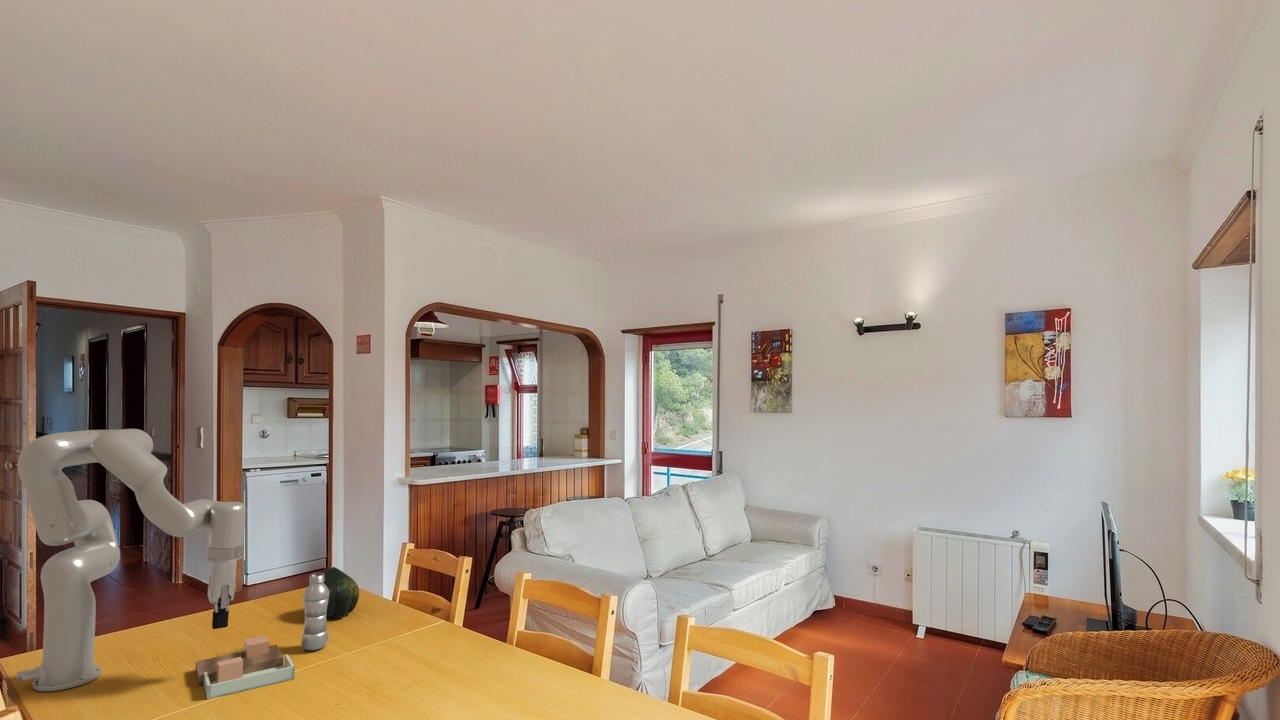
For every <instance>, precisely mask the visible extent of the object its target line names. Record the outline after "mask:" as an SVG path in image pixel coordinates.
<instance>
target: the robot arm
mask: <svg viewBox="0 0 1280 720" xmlns="http://www.w3.org/2000/svg"><path fill="white" fill-rule="evenodd" d="M153 449H154V441H153V439H152V437H151V436H150V435H149V434H148V433H147V432H146V431H144V430H142V429H139V428H138V429H137V428H124V429H86V430H76V431H75V430H74V431H62V432H56V433H49V434H46V435H43V436H40V437H38V438H36V439H34V440H32V441H30V442H29V443H28V444H27V445H25V447H24V448H23V449H22V451H21V452H20V455H19V456H18V460H17V472H18V476H19V479H20V481H21V483H22V486H23V488H24V490H25V494H26V496H27V499H28V504H29V509H30V512H31V515H32V519H33V522H34V526H35V529H36V533H37V536H38V538H39V541H41V542H42V543H43V544H44V545H47V546H51V547H52V546H53V547H55V546H62V545H63V546H64V545H66V544H70V543H74V546H73V547H70V548H68V549H67V548H66V549H64V550H62V551H60V552H57V553H55V554H54V555H52V556H51V557H49V559H47V560H46V561H45V563H44V564H43V566H42V567H41V570H40V582H41V588H42V591H43V601H44V606H43V608H44V610H43V620H44V621H43V638H42V639H43V640H42V643H43V644H42V662H41V664H40V666H36V667H34V669H26V670H20V671H17V672H16V676H15V677H16V678H15V679H16V680H15V681H21V682H29V681H32V680H33V682H32V689H33V690H35V691H38V692H55V691H63V690H67V689H72V688H76V687H78V686H82V685H85V684H88V683H90V682H93V681H94V680H95V679H97V678H98V677H99V676H101V674H102V667H101V666H100V665H98V664H94V661H95V635H96V634H95V633H96V617H97V616H96V615H97V613H96V607H97V605H96V604H97V603H96V602H97V601H96V596H95V593H94V590H93V588H92V586H91V582H93V581H96V580H98V579H101V578H103V577H106V576H107V575H109V574H111V573H112V572H113V571H114V570H115V569H116V568H117V567H118V565H119V563H120V560H121V552H120V546H119V543H118V538H117V536H116V533H115V532H116V531H115V528H114V525H113V521H112V518H111V515H110V512H109V511H108V509H107V508H106V506H104V504H103V503H101V502H98V501H97V500H93V499H81V500H78V498H77V495H76V492H75V487H74V485H73V482H72V481H71V480H70V478H69V477H68V476H67V475H66V474H65V473H64V472H63V469H64V468H66V467H72V466H73V467H74V466H80V465H83V464H84V465H86V464H92V463H96V464H97V463H98V464H100V465H102V466H103V467H104V468H105V469H106V470H108V471H109V472H110V473H111V474H112V475H114V476H115V477H116V478H117V479H118V480H120V481H121V482H122V483H123V484H124V485H126V486H127V487H128V488H129V489H130V490H132V491H133V492H134V495H135V499H136V501H137V504H138V506H139V509H140V511H141V512H142V513H143V515H144V516H145V517H146V518H147V519H148V521H150V522H151V523H152V524H153V525H155V526H156V527H157V528H159V529H160V530H161V531H163V532H164V533H166V534H168V535H169V536H172V537H177V538H182V537H188V536H190V535H192V534H195V533H197V532H201V531H203V530H207V529H208V538H207V539H208V541H207V553H206V555H207V556H206V561H207V562H210V567H209V577H208V585H207V598H208V602H209V603H210V604H212V605H213V611H212V619H211V621H212V623H211V627H212V629H213V630H218V629H224V628H228V625H229V613H230V610H229V605H230V602H232V601H233V600H234V598H235V591H236V590H235V589H236V581H237V568H238V567H237V563H238V561H239V560H241V559H243V552H244V551H243V550H244V542H245V541H244V539H245V528H246V512H247V508H246V507H247V506H246V505H245V504H244V503H243V502H240V501H218V500H213V499H208V498H207V499H206V498H202V499H196V500H193V501H188V502H187V503H182V502H181V501H180V500H178V499H177V498H176V497H174V496H173V494H171V493H170V492H169V491H168V489H167V488H166V486H165V483H164V478H165V477H166V475H167V474H168V466H167V465H166V464H165V463H163V462H162V461H161V460H159V458H157V457H156V456H155V455H154V454H153V453H152V452H153Z"/></svg>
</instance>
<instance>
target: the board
mask: <svg viewBox="0 0 1280 720" xmlns="http://www.w3.org/2000/svg"><path fill="white" fill-rule="evenodd" d="M237 657H241V658H242V660H243V675H244V674H248V673H252V672H257V671H261V670H266V669H270V668H275V667H279V666H284V656H283V654H282V652H281V650H280V648H279V647H278V645H277V644H274V645H269V653H267V654H263V655H258V656H253V657H248V658H247V657H246V655H245V652H244V651H240V652H239V651H238V652H235V653H229V654H223V655H220V656H215V657H211V658H205V659H199V660H196V661H195V675H196V676H195V677H196V680H197V684H198V687H201V686H204V672H207V673H208V677H209V681H210V682H212V681H216V672H217V662H220V661H224V660H228V659H233V658H237Z"/></svg>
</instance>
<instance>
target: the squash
mask: <svg viewBox="0 0 1280 720" xmlns="http://www.w3.org/2000/svg"><path fill="white" fill-rule="evenodd" d="M323 573H324V579H325V581H324V584H325V585H326V586H327V588H328V589H329V592H330V593H329V600H328V605H327V612H326V614H327V615H326V617H334V618H335V619H341V618H344V617H345V615H346V616H347V615H348V614H351V613H352V612H353V611H354V610H355V608H356V607H357V604H358V601H359V598H360V589H359V586H358V584H357V582H356V581H355V580H354V578H352V577H351V576H349V575H348V574H346V573H345V572H344V571H342V570H341V569H339V568H338V567H336V566H332V567H331V568H328V569H327V570H325V572H323Z"/></svg>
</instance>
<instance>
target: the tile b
mask: <svg viewBox="0 0 1280 720" xmlns="http://www.w3.org/2000/svg"><path fill="white" fill-rule="evenodd" d="M243 643H244V647H243V648H244V650H243V652H245V655H246V657H247V658H248V657H253V656H258V655H263V654H267V653H269V646H270V640H269V637H268V636H267V635H262V636H256V637H252V638H247V639H244V642H243Z"/></svg>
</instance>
